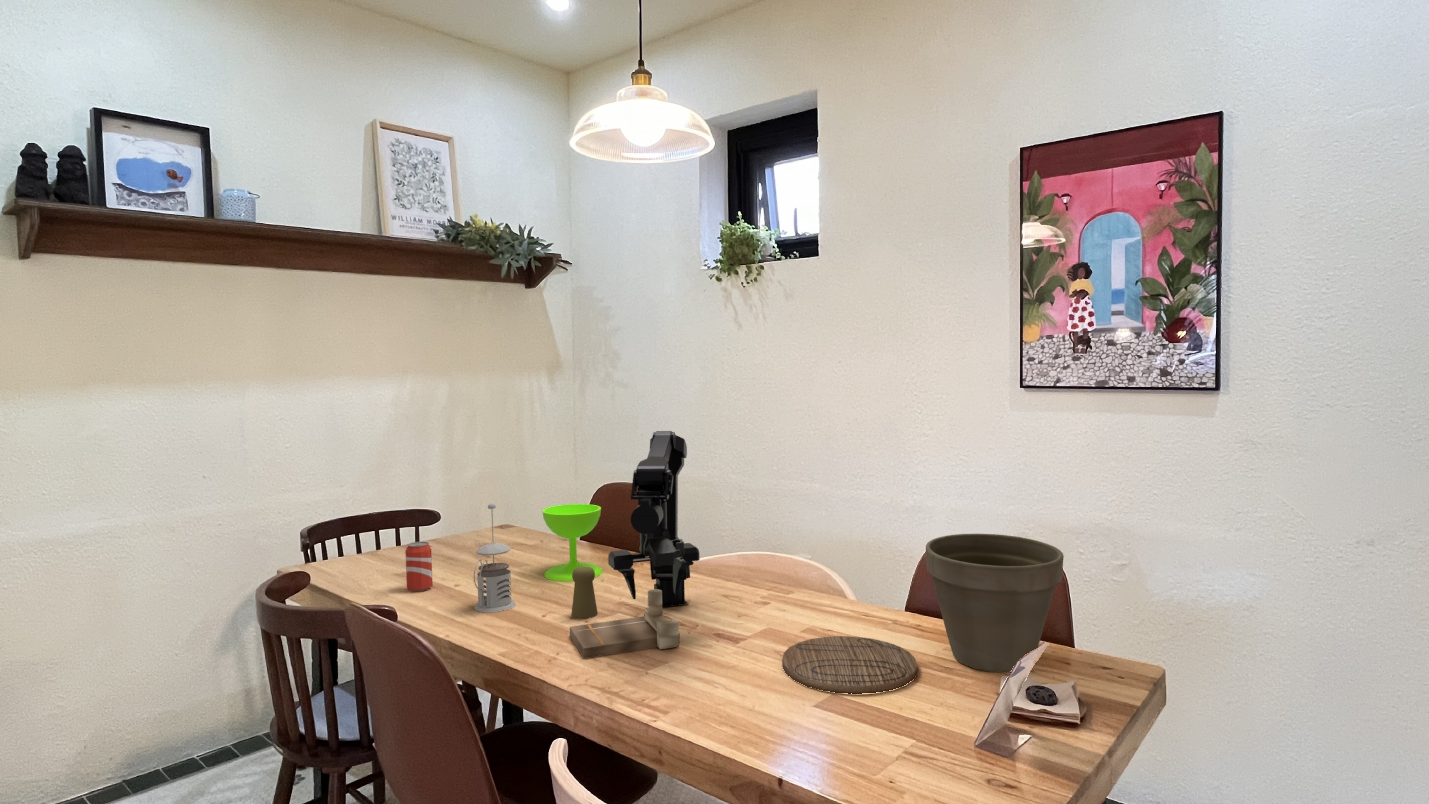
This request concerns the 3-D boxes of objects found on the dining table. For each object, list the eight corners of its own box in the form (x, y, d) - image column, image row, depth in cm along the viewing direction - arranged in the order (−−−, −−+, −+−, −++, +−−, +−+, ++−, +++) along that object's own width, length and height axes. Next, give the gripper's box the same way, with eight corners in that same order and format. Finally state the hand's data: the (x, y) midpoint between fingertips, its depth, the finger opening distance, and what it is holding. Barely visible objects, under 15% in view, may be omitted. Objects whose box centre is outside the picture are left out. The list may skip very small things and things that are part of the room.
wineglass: (614, 570, 221) (612, 506, 220) (575, 584, 207) (573, 516, 206) (572, 563, 229) (570, 502, 228) (531, 576, 216) (529, 511, 215)
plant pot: (1068, 693, 135) (1068, 568, 134) (920, 676, 143) (919, 558, 142) (1058, 643, 158) (1059, 537, 157) (931, 631, 167) (931, 530, 166)
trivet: (779, 645, 161) (778, 636, 161) (901, 644, 160) (901, 635, 160) (786, 697, 136) (786, 686, 136) (931, 696, 135) (931, 685, 135)
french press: (524, 601, 193) (520, 500, 192) (496, 616, 182) (492, 509, 181) (489, 598, 196) (486, 499, 195) (460, 612, 185) (456, 507, 184)
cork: (592, 619, 179) (591, 571, 178) (567, 618, 180) (565, 570, 179) (601, 611, 184) (600, 564, 184) (577, 609, 186) (575, 563, 185)
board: (659, 622, 175) (659, 613, 175) (679, 643, 162) (679, 633, 162) (569, 635, 168) (569, 626, 168) (583, 658, 155) (583, 648, 155)
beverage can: (436, 585, 208) (434, 541, 208) (425, 592, 202) (423, 546, 201) (414, 585, 209) (412, 540, 208) (402, 592, 203) (400, 546, 202)
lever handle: (659, 626, 172) (658, 585, 172) (678, 646, 160) (678, 602, 159) (641, 628, 171) (640, 587, 170) (660, 649, 158) (659, 604, 158)
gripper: (620, 535, 156) (622, 613, 156) (708, 526, 162) (709, 600, 163) (606, 524, 166) (608, 597, 167) (689, 516, 173) (691, 586, 174)
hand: (655, 596), depth 167 cm, fingers open, 9 cm apart
